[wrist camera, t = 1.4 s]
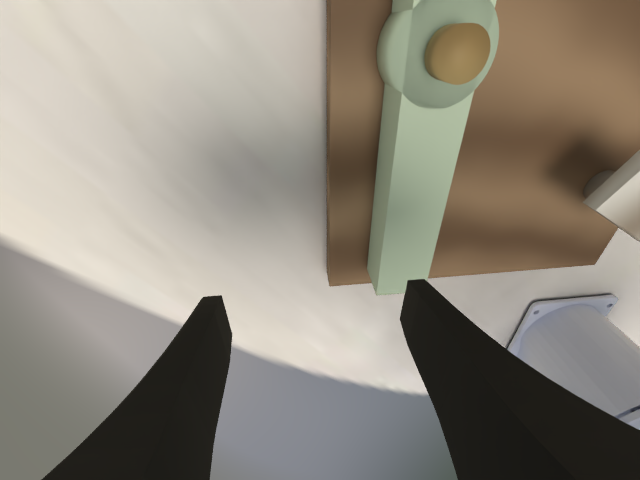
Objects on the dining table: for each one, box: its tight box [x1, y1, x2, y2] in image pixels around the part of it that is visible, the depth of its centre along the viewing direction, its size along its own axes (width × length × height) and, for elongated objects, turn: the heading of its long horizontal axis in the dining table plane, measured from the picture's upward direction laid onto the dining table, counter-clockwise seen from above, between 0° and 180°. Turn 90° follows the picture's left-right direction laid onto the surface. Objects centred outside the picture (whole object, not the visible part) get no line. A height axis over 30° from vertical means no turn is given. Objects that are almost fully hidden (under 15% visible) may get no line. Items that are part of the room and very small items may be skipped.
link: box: [367, 0, 499, 295], centre depth 16 cm, size 14×4×2 cm, turn 0°
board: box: [327, 0, 640, 286], centre depth 16 cm, size 18×20×6 cm
